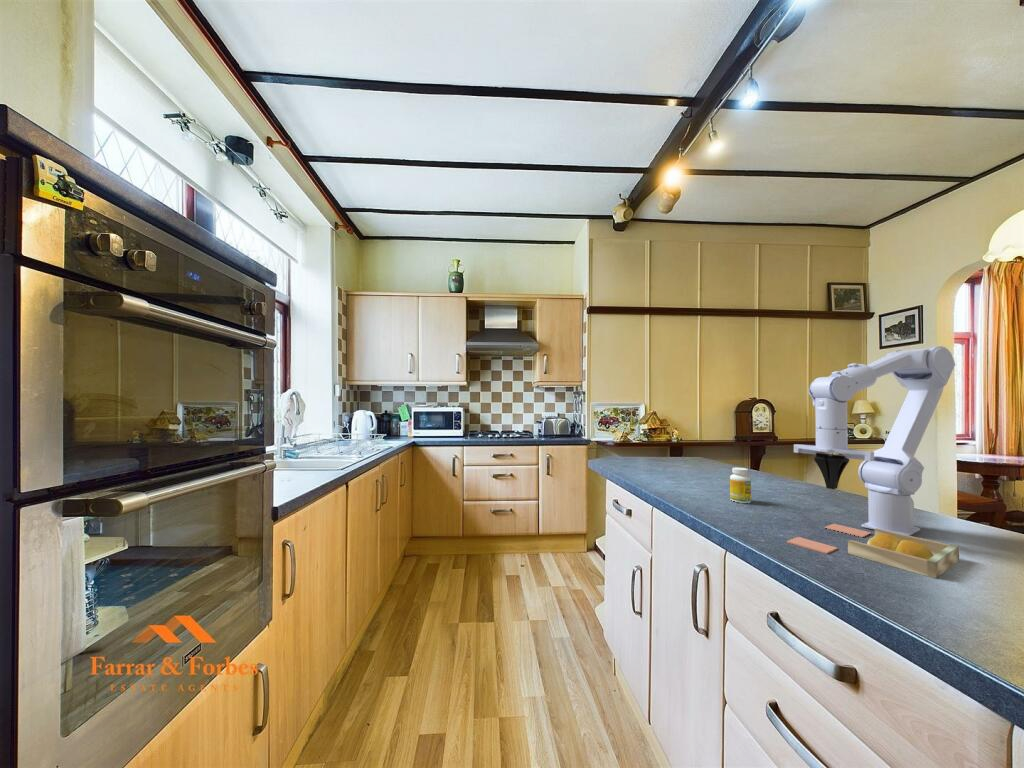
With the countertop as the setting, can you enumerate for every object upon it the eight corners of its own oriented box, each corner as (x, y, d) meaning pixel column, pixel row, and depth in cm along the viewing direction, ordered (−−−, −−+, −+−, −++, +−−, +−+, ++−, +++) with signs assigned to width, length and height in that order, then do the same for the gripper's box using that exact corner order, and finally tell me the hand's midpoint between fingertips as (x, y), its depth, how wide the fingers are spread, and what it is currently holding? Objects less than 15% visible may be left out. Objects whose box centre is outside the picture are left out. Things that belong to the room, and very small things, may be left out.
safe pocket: (876, 539, 85) (876, 527, 85) (959, 560, 75) (958, 545, 75) (847, 553, 77) (847, 539, 77) (935, 578, 67) (935, 562, 67)
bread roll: (928, 571, 70) (927, 549, 70) (862, 554, 78) (862, 534, 78) (939, 561, 75) (938, 540, 75) (876, 545, 82) (876, 526, 82)
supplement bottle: (733, 498, 119) (733, 466, 119) (753, 501, 115) (753, 468, 116) (727, 501, 115) (727, 468, 116) (747, 505, 112) (747, 471, 112)
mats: (833, 524, 95) (833, 523, 95) (871, 533, 89) (871, 532, 89) (786, 542, 83) (786, 541, 83) (826, 554, 77) (826, 552, 77)
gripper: (787, 426, 95) (787, 483, 94) (865, 432, 82) (865, 497, 82) (801, 425, 98) (801, 480, 98) (877, 430, 86) (878, 493, 85)
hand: (831, 488), depth 90 cm, fingers closed
